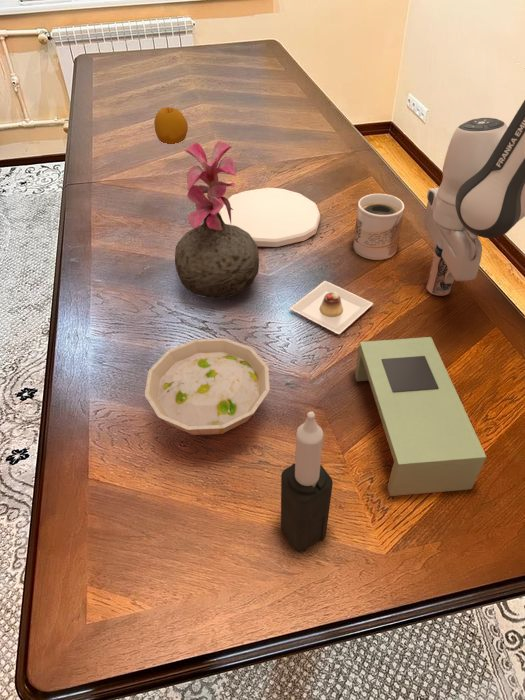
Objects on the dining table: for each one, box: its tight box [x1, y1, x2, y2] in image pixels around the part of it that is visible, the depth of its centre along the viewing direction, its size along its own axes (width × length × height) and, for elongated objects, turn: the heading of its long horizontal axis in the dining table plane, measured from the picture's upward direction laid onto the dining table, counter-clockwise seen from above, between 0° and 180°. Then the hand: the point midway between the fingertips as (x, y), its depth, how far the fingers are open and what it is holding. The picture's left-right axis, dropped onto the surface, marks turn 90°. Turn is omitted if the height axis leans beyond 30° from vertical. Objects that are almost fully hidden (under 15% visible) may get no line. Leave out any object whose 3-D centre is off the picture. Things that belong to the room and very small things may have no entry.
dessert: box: [289, 280, 374, 335], centre depth 105 cm, size 12×12×5 cm
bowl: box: [144, 337, 271, 436], centre depth 84 cm, size 19×19×10 cm
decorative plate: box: [219, 187, 321, 248], centre depth 131 cm, size 25×4×25 cm
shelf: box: [354, 336, 487, 497], centre depth 83 cm, size 12×24×8 cm, turn 5°
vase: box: [174, 140, 260, 300], centre depth 103 cm, size 17×17×30 cm
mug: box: [352, 193, 405, 261], centre depth 120 cm, size 10×12×11 cm
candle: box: [280, 411, 334, 553], centre depth 65 cm, size 5×5×25 cm
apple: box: [153, 106, 189, 144], centre depth 161 cm, size 10×10×12 cm
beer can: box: [426, 239, 453, 297], centre depth 107 cm, size 5×5×12 cm
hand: (442, 272), depth 108 cm, fingers closed on beer can, 5 cm apart
